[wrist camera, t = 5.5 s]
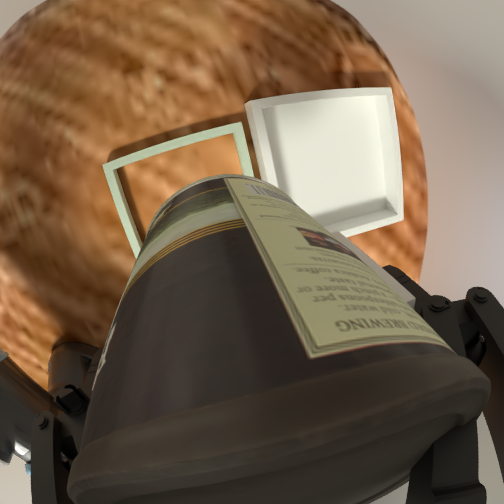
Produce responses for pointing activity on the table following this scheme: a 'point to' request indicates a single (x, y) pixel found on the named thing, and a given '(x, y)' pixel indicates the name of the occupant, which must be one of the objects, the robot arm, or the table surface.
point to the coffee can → (262, 365)
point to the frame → (112, 166)
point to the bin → (332, 155)
